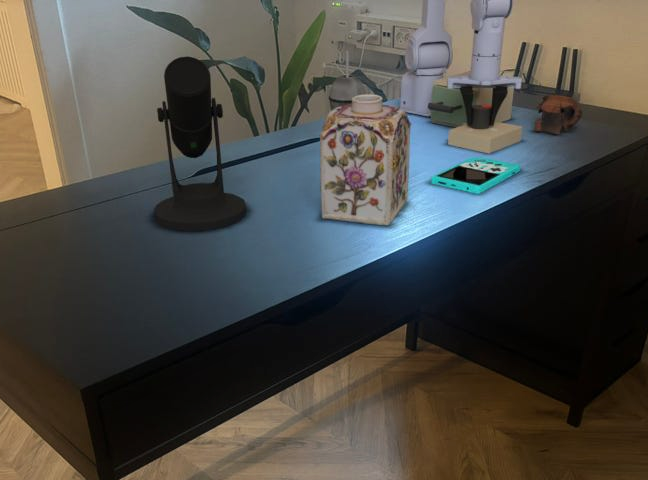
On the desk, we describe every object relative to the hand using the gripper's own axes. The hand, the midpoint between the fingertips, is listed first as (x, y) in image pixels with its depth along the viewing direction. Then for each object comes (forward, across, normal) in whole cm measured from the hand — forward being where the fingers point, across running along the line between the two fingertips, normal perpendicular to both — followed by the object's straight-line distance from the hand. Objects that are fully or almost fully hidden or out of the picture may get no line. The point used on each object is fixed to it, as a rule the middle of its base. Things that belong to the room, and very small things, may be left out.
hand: (479, 124), depth 153 cm
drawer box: (+3, 0, +17) cm, 18 cm away
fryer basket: (+3, -3, +14) cm, 15 cm away
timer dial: (0, 0, 0) cm, 0 cm away
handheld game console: (+4, -2, -24) cm, 24 cm away
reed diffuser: (+4, -27, -12) cm, 30 cm away
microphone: (+4, -49, -45) cm, 66 cm away
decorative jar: (+4, -22, -42) cm, 48 cm away
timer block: (+3, +1, -1) cm, 4 cm away
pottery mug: (+4, +18, +9) cm, 21 cm away
